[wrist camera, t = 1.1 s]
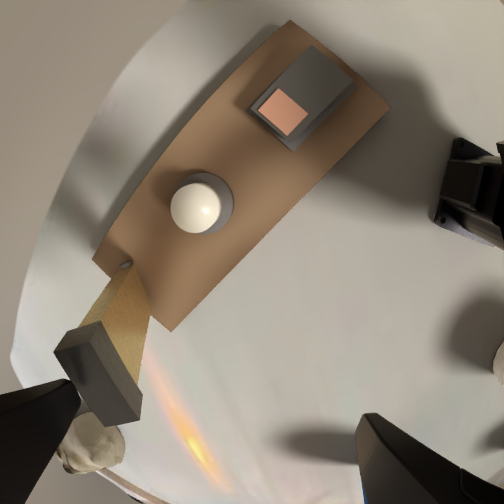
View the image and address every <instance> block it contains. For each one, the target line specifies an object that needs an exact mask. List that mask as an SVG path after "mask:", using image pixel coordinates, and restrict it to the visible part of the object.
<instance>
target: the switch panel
mask: <svg viewBox="0 0 504 504" xmlns="http://www.w3.org/2000/svg"><path fill="white" fill-rule="evenodd" d="M311 45H313V46H314V47H315V48H316V49H318V50H319V51H320V52H321V53H323V54H324V55H325V56H326V57H327V58H329V59H330V60H331V61H332V62H333V63H334V64H336V65H337V66H338V67H339V68H340V69H341V70H342V71H344V72H345V73H346V74H347V75H348V76H349V77H350V78H351V79H352V80H353V82H352V83H351V84H350V85H349V86H348V87H347V88H346V89H345V90H344V91H343V92H342V93H341V94H340V95H339V96H338V97H336V98H335V99H334V100H333V101H332V102H331V103H330V104H329V105H328V106H327V107H326V108H325V109H324V110H323V111H322V112H321V113H320V114H319V115H318V116H317V117H316V118H315V119H314V120H313V121H312V122H311V124H310V125H309V126H308V127H307V128H306V129H305V130H304V131H303V132H302V133H301V134H300V135H299V136H298V137H297V138H296V139H295V140H294V141H293V142H292V143H291V144H290V143H289V142H288V141H287V140H286V139H285V138H284V137H283V136H282V135H280V134H279V133H278V132H277V131H276V130H275V129H274V128H272V127H271V126H270V125H269V124H268V123H267V122H266V121H264V120H263V119H262V118H261V117H260V116H259V115H257V114H256V113H255V112H254V111H253V110H251V109H250V108H251V107H252V106H253V105H254V104H255V103H256V102H257V100H258V99H259V98H260V97H261V96H262V95H263V94H264V93H265V92H266V91H267V90H268V88H269V87H270V86H271V85H272V84H273V83H274V82H275V81H276V80H277V79H278V78H279V77H280V76H281V75H282V74H283V73H284V72H285V71H286V70H287V69H288V68H289V67H290V65H291V64H292V63H293V62H294V61H295V60H296V59H297V58H298V57H299V56H300V55H301V54H302V53H304V52H305V51H306V50H307V49H308V48H309V47H310V46H311ZM390 108H391V107H390V106H389V105H388V104H387V103H386V102H385V101H384V100H383V99H382V98H381V97H380V96H379V95H378V94H377V93H376V92H375V91H374V90H373V89H372V88H371V87H370V86H369V85H368V84H367V83H366V82H365V81H364V80H363V79H362V78H361V77H360V76H359V75H358V74H357V73H356V72H354V71H353V70H352V69H351V68H350V67H349V66H348V65H347V64H346V63H344V62H343V61H342V60H341V59H340V58H339V57H337V56H336V55H335V54H334V53H333V52H331V51H330V50H329V49H328V48H327V47H325V46H324V45H323V44H322V43H320V42H319V41H318V40H316V39H315V38H314V37H313V36H311V35H310V34H309V33H307V32H306V31H305V30H303V29H302V28H301V27H299V26H298V25H296V24H295V23H294V22H292V21H291V20H289V21H288V22H287V23H286V24H285V25H283V26H282V27H281V28H280V29H279V30H278V31H277V32H275V33H274V34H273V35H272V36H271V37H270V38H269V39H268V40H267V41H265V42H264V43H263V44H262V45H261V46H260V47H259V48H258V49H257V50H256V51H255V52H254V53H253V54H252V55H251V56H249V57H248V58H247V59H246V60H245V61H244V62H243V63H242V64H241V65H240V66H239V67H238V68H237V69H236V70H235V71H234V72H233V73H232V74H231V75H230V76H229V78H228V79H227V80H226V81H225V82H224V83H223V84H222V85H221V86H220V87H219V88H218V89H217V90H216V91H215V92H214V93H213V95H212V96H211V97H210V98H209V99H208V100H207V101H206V102H205V103H204V104H203V106H202V107H201V108H200V109H199V110H198V111H197V112H196V114H195V115H194V116H193V117H192V118H191V119H190V121H189V122H188V123H187V124H186V125H185V127H184V128H183V129H182V130H181V131H180V133H179V134H178V135H177V136H176V137H175V139H174V140H173V141H172V142H171V144H170V145H169V146H168V148H167V149H166V150H165V151H164V153H163V154H162V155H161V157H160V158H159V159H158V160H157V162H156V163H155V164H154V166H153V167H152V168H151V170H150V171H149V172H148V174H147V175H146V177H145V178H144V179H143V181H142V182H141V184H140V185H139V186H138V188H137V189H136V191H135V192H134V193H133V195H132V196H131V198H130V199H129V201H128V202H127V204H126V205H125V207H124V208H123V210H122V211H121V213H120V214H119V216H118V217H117V219H116V220H115V222H114V223H113V225H112V227H111V228H110V230H109V231H108V233H107V235H106V236H105V238H104V239H103V241H102V243H101V244H100V246H99V248H98V249H97V251H96V253H95V254H94V256H93V258H92V260H93V261H94V262H95V263H96V264H97V265H98V266H99V267H100V268H101V269H102V270H103V271H104V272H105V273H106V274H107V275H108V276H109V277H110V278H111V279H112V277H113V276H114V275H115V273H116V272H117V271H118V269H120V264H121V263H123V262H125V261H128V260H133V262H134V263H135V265H136V268H137V271H138V273H139V276H140V278H141V280H142V283H143V285H144V288H145V290H146V292H147V295H148V297H149V300H150V302H151V304H152V309H151V313H150V315H151V316H153V317H154V318H155V319H156V320H157V321H158V322H159V323H161V324H162V325H163V326H164V327H165V328H167V329H168V330H169V331H170V332H172V331H173V330H174V329H175V328H176V327H177V326H178V325H179V324H180V323H181V322H182V321H183V320H184V318H185V317H186V316H187V315H188V314H189V313H190V312H191V311H192V310H193V309H194V308H195V307H196V306H197V305H198V304H199V303H200V302H201V301H202V300H203V299H204V298H205V297H206V296H207V295H208V294H209V293H210V292H211V291H212V290H213V289H214V288H215V287H216V286H217V285H218V284H219V283H220V281H221V280H222V279H223V278H224V277H225V276H226V275H227V274H228V273H229V272H230V271H231V270H232V269H233V268H234V267H235V266H236V265H237V264H238V263H239V262H240V261H241V260H242V259H243V258H244V257H245V256H246V255H247V254H248V253H249V252H250V251H251V250H252V249H253V248H254V247H255V246H256V245H257V244H258V243H259V241H260V240H261V239H262V238H263V237H264V236H265V235H266V234H267V233H268V232H269V231H270V230H271V229H272V228H273V227H274V226H275V225H276V224H277V223H278V222H279V221H280V220H281V219H282V218H283V217H284V216H285V215H286V214H287V213H288V212H289V211H290V210H291V209H292V208H293V207H294V206H295V205H296V204H297V203H298V202H299V201H300V200H301V198H302V197H303V196H304V195H305V194H306V193H307V192H308V191H309V190H310V189H311V188H312V187H313V186H314V185H315V184H316V183H317V182H318V181H319V180H320V179H321V178H322V177H323V176H324V175H325V174H326V173H327V172H328V171H329V170H330V169H331V168H332V167H333V166H334V165H335V164H336V163H337V162H338V161H339V160H340V159H341V158H342V157H343V156H344V155H345V154H346V153H347V151H348V150H349V149H350V148H351V147H352V146H353V145H354V144H355V143H356V142H357V141H358V140H359V139H360V138H361V137H362V136H363V135H364V134H365V133H366V132H367V131H368V130H369V129H370V128H371V127H372V126H373V125H374V124H375V123H376V122H377V121H378V120H379V119H380V118H381V117H382V116H383V115H384V114H385V113H386V112H387V111H388V110H389V109H390ZM193 183H206V184H208V185H210V186H212V187H213V188H214V189H215V190H216V191H217V192H218V193H219V195H220V197H221V201H222V211H221V214H220V217H219V218H218V220H217V221H216V222H215V223H214V224H213V225H212V226H211V227H210V228H208V229H207V230H205V231H203V232H200V233H190V232H186V231H184V230H183V229H181V228H180V227H179V226H178V225H177V224H176V223H175V222H174V220H173V218H172V215H171V208H170V207H171V201H172V198H173V196H174V195H175V193H176V192H177V191H178V190H179V189H180V188H182V187H184V186H187V185H190V184H193Z"/></svg>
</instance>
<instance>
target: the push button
mask: <svg viewBox="0 0 504 504" xmlns="http://www.w3.org/2000/svg"><path fill="white" fill-rule="evenodd" d="M170 208H171V215H172V218H173V220H174V222H175V223H176V224H177V225H178V226H179V227H180V228H181V229H183V230H184V231H186V232H190V233H200V232H203V231H205V230H207V229H208V228H210V227H211V226H212V225H213V224H214V223H215V222H216V221H217V220H218V218H219V217H220V214H221V211H222V201H221V197H220V195H219V193H218V192H217V191H216V190H215V189H214V188H213V187H212V186H210V185H208V184H206V183H193V184H190V185H187V186H184V187H182V188H180V189H179V190H178V191H177V192H176V193H175V195H174V196H173V198H172V201H171V207H170Z"/></svg>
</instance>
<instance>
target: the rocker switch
mask: <svg viewBox="0 0 504 504" xmlns="http://www.w3.org/2000/svg"><path fill="white" fill-rule="evenodd" d="M352 82H353V80H352V79H351V78H350V77H349V76H348V75H347V74H346V73H345V72H344V71H342V70H341V69H340V68H339V67H338V66H337V65H336V64H334V63H333V62H332V61H331V60H330V59H329V58H327V57H326V56H325V55H324V54H323V53H321V52H320V51H319V50H318V49H316V48H315V47H314V46H313V45H311V46H310V47H309V48H308V49H307V50H306V51H305V52H304V53H302V54H301V55H300V56H299V57H298V58H297V59H296V60H295V61H294V62H293V63H292V64H291V65H290V67H289V68H288V69H287V70H286V71H285V72H284V73H283V74H282V75H281V76H280V77H279V78H278V79H277V80H276V81H275V82H274V83H273V84H272V85H271V86H270V87H269V88H268V90H267V91H266V92H265V93H264V94H263V95H262V96H261V97H260V98H259V99H258V100H257V102H256V103H255V104H254V105H253V106H252V107H251V108H250V109H251V110H253V111H254V112H255V113H256V114H257V115H259V116H260V117H261V118H262V119H263V120H264V121H266V122H267V123H268V124H269V125H270V126H271V127H272V128H274V129H275V130H276V131H277V132H278V133H279V134H280V135H282V136H283V137H284V138H285V139H286V140H287V141H288V142H289V143H290V144H291V143H292V142H293V141H294V140H295V139H296V138H297V137H298V136H299V135H300V134H301V133H302V132H303V131H304V130H305V129H306V128H307V127H308V126H309V125H310V124H311V122H312V121H313V120H314V119H315V118H316V117H317V116H318V115H319V114H320V113H321V112H322V111H323V110H324V109H325V108H326V107H327V106H328V105H329V104H330V103H331V102H332V101H333V100H334V99H335V98H336V97H338V96H339V95H340V94H341V93H342V92H343V91H344V90H345V89H346V88H347V87H348V86H349V85H350V84H351V83H352Z"/></svg>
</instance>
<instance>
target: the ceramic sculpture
mask: <svg viewBox="0 0 504 504" xmlns="http://www.w3.org/2000/svg"><path fill="white" fill-rule="evenodd" d="M124 453H125V441H124V437H123V435H122V434H121V432H120V431H119V430H118V428H117V427H116V425H115V426H110V427H104V426H103V425H102V423H101V422H100V421H99V419H98V418H97V417H96V416H95V414H94V413H93V412H88V413H84V414H81V415H79V416H78V417H76V418H75V419H74V420H73V421H72V423H71V426H70V428H69V430H68V432H67V434H66V436H65V437H64V439H63V441H62V442H61V444H60V445H59V447H58V449H57V450H56V452H55V455H56V456H57V458H58V459H59V460H60V461H61V462H63V468H64V470H65V471H66V472H68V473H71V474H74V473H77V474H85V473H87V472H92V471H96V470H100V469H105V468H106V467H112V466H114V465H116V464H118V463H121V462H122V460H123V457H124Z"/></svg>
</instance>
